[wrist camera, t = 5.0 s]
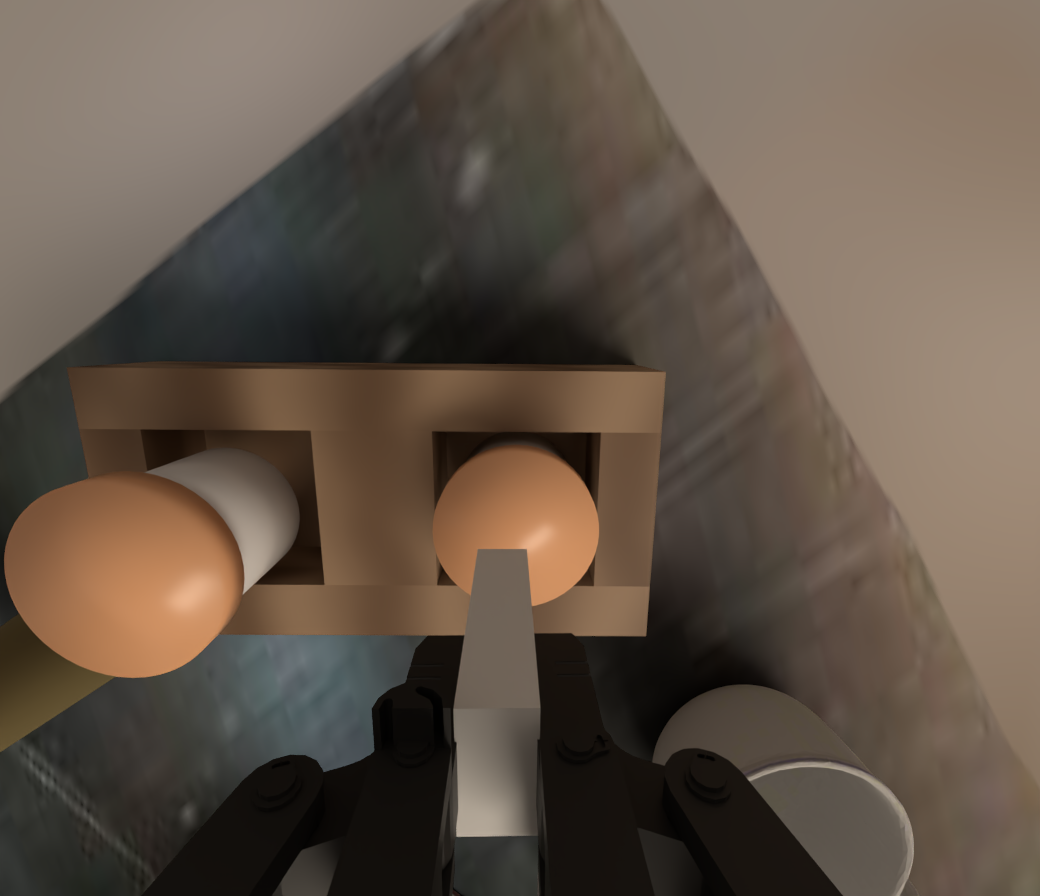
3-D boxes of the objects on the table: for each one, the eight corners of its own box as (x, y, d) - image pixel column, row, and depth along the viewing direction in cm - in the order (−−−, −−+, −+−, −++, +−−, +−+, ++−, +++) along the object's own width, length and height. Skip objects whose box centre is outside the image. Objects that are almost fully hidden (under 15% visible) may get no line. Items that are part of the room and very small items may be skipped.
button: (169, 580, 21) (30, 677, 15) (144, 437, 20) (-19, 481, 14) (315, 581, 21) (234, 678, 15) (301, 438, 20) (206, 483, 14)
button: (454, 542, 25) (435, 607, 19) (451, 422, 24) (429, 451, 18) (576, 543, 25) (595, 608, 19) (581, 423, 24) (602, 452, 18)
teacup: (600, 736, 29) (629, 880, 22) (733, 619, 28) (818, 729, 20) (751, 857, 32) (828, 1028, 24) (884, 755, 30) (1014, 903, 22)
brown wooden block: (192, 580, 27) (120, 633, 22) (157, 361, 24) (67, 367, 19) (622, 582, 27) (645, 636, 22) (636, 365, 24) (665, 371, 19)
